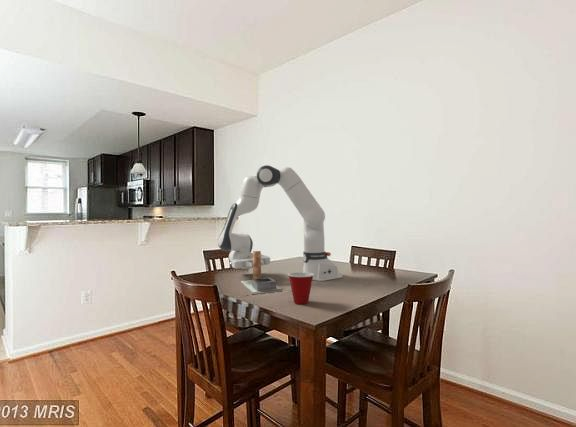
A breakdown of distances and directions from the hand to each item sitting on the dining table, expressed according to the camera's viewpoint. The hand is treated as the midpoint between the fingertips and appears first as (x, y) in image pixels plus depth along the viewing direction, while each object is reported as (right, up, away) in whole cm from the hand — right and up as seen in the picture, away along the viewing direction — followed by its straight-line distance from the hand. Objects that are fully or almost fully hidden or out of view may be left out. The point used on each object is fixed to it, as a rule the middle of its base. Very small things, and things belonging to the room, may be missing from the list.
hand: (257, 264), depth 162 cm
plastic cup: (+20, -11, -28) cm, 37 cm away
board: (+2, -11, -5) cm, 12 cm away
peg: (0, -8, +1) cm, 8 cm away
